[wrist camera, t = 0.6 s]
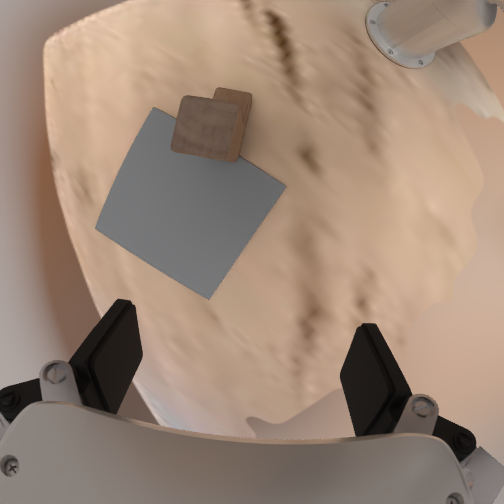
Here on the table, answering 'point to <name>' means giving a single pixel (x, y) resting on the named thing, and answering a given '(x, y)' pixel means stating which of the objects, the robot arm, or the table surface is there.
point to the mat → (185, 207)
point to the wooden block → (212, 125)
